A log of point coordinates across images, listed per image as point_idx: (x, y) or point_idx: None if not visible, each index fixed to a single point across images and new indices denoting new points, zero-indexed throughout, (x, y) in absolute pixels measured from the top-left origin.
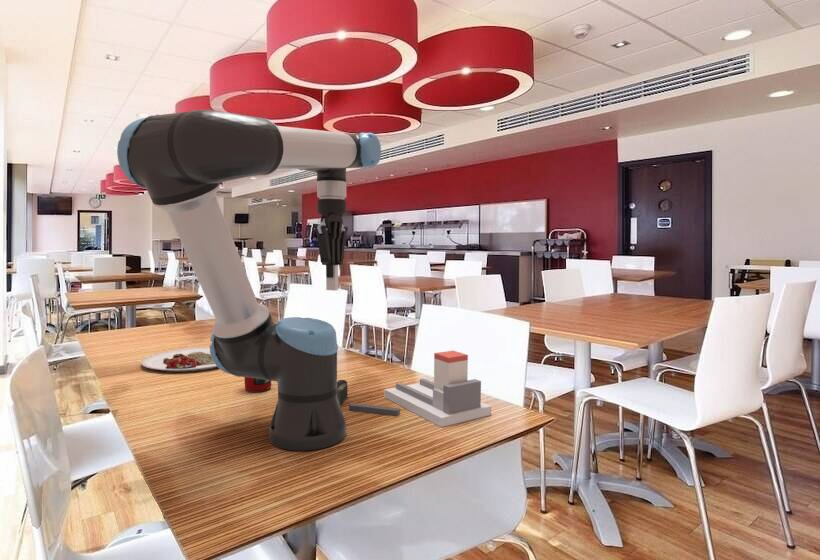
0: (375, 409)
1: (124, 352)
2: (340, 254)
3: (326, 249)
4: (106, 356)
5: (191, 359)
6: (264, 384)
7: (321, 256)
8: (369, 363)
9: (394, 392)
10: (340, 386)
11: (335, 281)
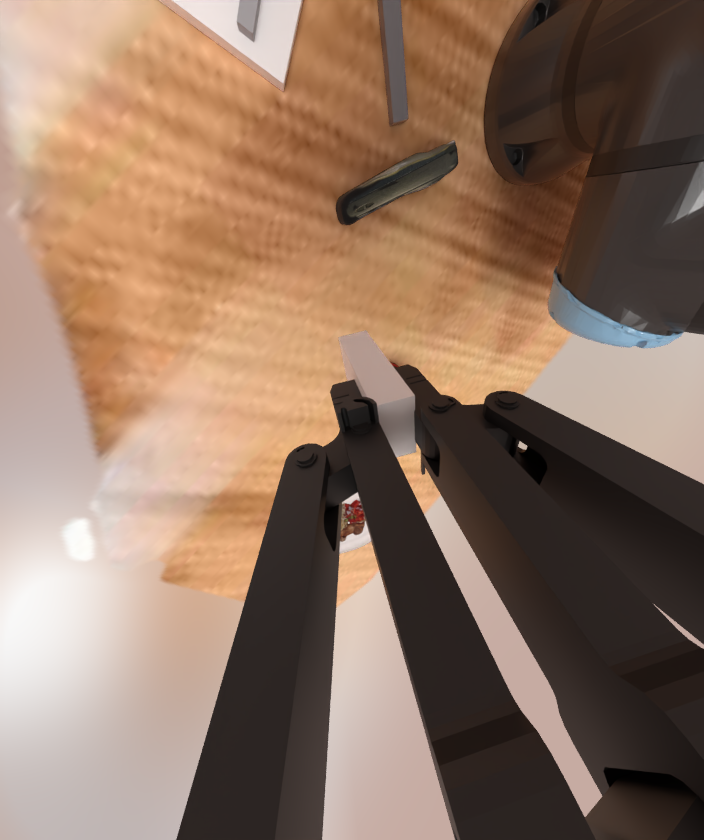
0: (400, 10)
1: (354, 571)
2: (322, 503)
3: (644, 462)
4: (372, 566)
5: (356, 512)
6: (392, 365)
7: (542, 462)
8: (111, 351)
9: (286, 18)
10: (393, 171)
11: (377, 347)
